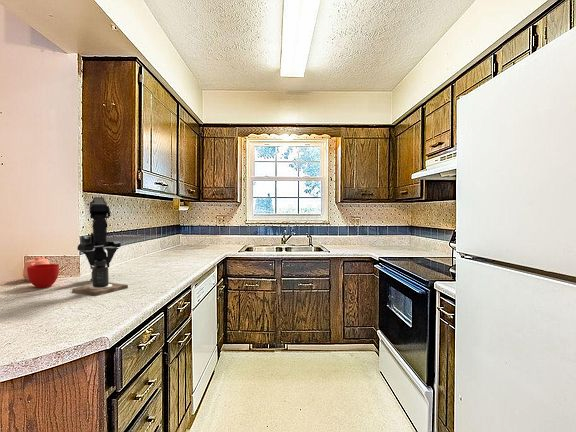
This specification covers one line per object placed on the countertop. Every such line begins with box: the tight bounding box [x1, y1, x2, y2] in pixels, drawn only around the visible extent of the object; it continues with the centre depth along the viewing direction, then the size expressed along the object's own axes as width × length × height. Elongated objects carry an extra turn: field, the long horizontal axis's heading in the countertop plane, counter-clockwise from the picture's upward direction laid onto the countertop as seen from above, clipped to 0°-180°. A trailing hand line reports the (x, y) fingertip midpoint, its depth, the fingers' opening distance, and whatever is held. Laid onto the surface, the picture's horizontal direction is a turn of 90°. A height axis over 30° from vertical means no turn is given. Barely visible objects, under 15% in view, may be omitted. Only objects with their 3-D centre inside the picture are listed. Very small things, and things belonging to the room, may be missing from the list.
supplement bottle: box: [91, 260, 110, 287], centre depth 175 cm, size 7×7×12 cm
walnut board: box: [71, 281, 129, 297], centre depth 175 cm, size 17×16×2 cm
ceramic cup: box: [27, 263, 60, 289], centre depth 184 cm, size 13×17×10 cm
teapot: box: [22, 255, 51, 282], centre depth 200 cm, size 20×12×12 cm, turn 17°
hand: (100, 264), depth 175 cm, fingers open, 9 cm apart
